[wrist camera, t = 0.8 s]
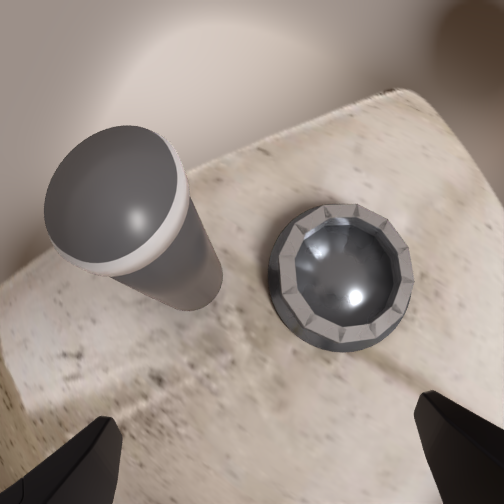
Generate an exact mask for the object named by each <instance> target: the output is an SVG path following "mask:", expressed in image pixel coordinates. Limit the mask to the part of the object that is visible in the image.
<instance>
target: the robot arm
mask: <svg viewBox="0 0 504 504" xmlns="http://www.w3.org/2000/svg"><path fill="white" fill-rule="evenodd" d="M414 419H415V422H416V425H417V429H418V432H419V436H420V439H421V443H422V447H423V450H424V454H425V457H426V459H427V462H428V465H429V467H430V470H431V472H432V475H433V477H434V480H435V482H436V485H437V488H438V490H439V493H440V496H441V498H442V501H443V504H504V430H503V429H501V428H500V427H498V426H496V425H494V424H492V423H491V422H489V421H487V420H485V419H484V418H482V417H480V416H478V415H476V414H475V413H473V412H471V411H469V410H468V409H466V408H464V407H462V406H461V405H459V404H457V403H455V402H454V401H452V400H450V399H448V398H447V397H445V396H443V395H441V394H440V393H438V392H436V391H434V390H430V391H427V392H423V393H422V394H421V395H420V397H419V399H418V402H417V405H416V408H415V410H414ZM121 448H122V434H121V432H120V430H119V428H118V426H117V424H116V422H115V421H114V419H113V418H112V417H107V416H99V417H97V418H96V419H95V420H94V421H92V422H91V423H90V424H89V425H88V426H86V427H85V428H84V429H83V430H81V431H80V432H79V433H78V434H76V435H75V436H74V437H73V438H72V439H70V440H69V441H68V442H67V443H65V444H64V445H63V446H62V447H60V448H59V449H58V450H57V451H55V452H54V453H53V454H52V455H50V456H49V457H48V458H46V459H45V460H44V461H43V462H41V463H40V464H39V465H38V466H36V467H35V468H34V469H32V470H31V471H30V472H29V473H27V474H26V475H25V476H24V477H23V478H21V479H19V480H18V481H17V482H15V483H14V484H13V485H11V486H10V487H9V488H7V489H6V490H4V491H3V492H1V493H0V504H112V503H113V499H114V494H115V490H116V485H117V480H118V473H119V464H120V456H121Z"/></svg>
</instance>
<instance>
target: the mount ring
mask: <svg viewBox="0 0 504 504" xmlns="http://www.w3.org/2000/svg"><path fill="white" fill-rule="evenodd" d="M268 284H269V291H270V295H271V298H272V302H273V304H274V306H275V309H276V311H277V313H278V314H279V316H280V318H281V319H282V321H283V322H284V323H285V324H286V326H287V327H288V328H289V329H290V330H291V331H292V332H293V333H294V334H295V335H296V336H298V337H299V338H300V339H302V340H303V341H305V342H307V343H309V344H310V345H312V346H315V347H317V348H320V349H323V350H327V351H332V352H354V351H358V350H363V349H365V348H368V347H371V346H373V345H375V344H377V343H378V342H380V341H381V340H383V339H384V338H386V337H387V336H388V335H389V334H390V333H391V332H392V331H393V330H394V329H395V328H396V327H397V325H398V324H399V323H400V321H401V319H402V318H403V316H404V314H405V312H406V310H407V307H408V305H409V301H410V297H411V291H412V288H413V285H414V276H413V270H412V264H411V258H410V253H409V247H408V246H407V244H406V243H405V242H404V240H403V239H402V238H401V236H400V235H399V234H398V232H397V231H396V230H395V228H394V227H393V226H392V224H391V223H390V222H389V220H388V219H386V218H384V217H382V216H380V215H378V214H376V213H374V212H372V211H370V210H368V209H366V208H364V207H362V206H360V205H358V204H329V205H323V206H319V207H315V208H313V209H310V210H308V211H306V212H304V213H302V214H300V215H299V216H298V217H296V218H295V219H293V220H292V221H291V222H290V223H289V224H288V225H287V226H286V227H285V229H284V230H283V231H282V232H281V234H280V235H279V237H278V239H277V240H276V242H275V245H274V247H273V250H272V253H271V256H270V260H269V268H268Z"/></svg>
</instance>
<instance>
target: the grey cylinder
mask: <svg viewBox="0 0 504 504" xmlns="http://www.w3.org/2000/svg"><path fill="white" fill-rule="evenodd" d="M44 218H45V224H46V228H47V231H48V235H49V237H50V240H51V242H52V244H53V246H54V248H55V249H56V250H57V252H58V253H59V254H60V255H61V256H62V257H63V258H64V259H65V260H67V261H68V262H70V263H72V264H73V265H75V266H77V267H79V268H81V269H83V270H85V271H87V272H90V273H92V274H95V275H100V276H109V277H111V278H113V279H115V280H117V281H119V282H121V283H123V284H125V285H127V286H129V287H131V288H133V289H135V290H137V291H139V292H141V293H143V294H145V295H147V296H149V297H151V298H154V299H156V300H158V301H160V302H162V303H164V304H166V305H169V306H171V307H173V308H175V309H178V310H182V311H194V310H198V309H200V308H203V307H205V306H206V305H208V304H209V303H210V302H211V301H212V300H213V299H214V298H215V297H216V296H217V294H218V292H219V290H220V288H221V285H222V279H223V272H222V267H221V264H220V261H219V259H218V257H217V255H216V253H215V250H214V248H213V246H212V244H211V242H210V240H209V237H208V235H207V233H206V231H205V229H204V226H203V224H202V222H201V220H200V218H199V215H198V213H197V211H196V209H195V206H194V204H193V202H192V200H191V197H190V189H189V182H188V178H187V175H186V172H185V170H184V167H183V165H182V162H181V160H180V158H179V155H178V153H177V151H176V150H175V148H174V147H173V146H172V144H171V143H170V142H169V141H168V140H167V139H165V138H164V137H163V136H161V135H159V134H158V133H155V132H153V131H150V130H148V129H145V128H142V127H138V126H117V127H112V128H109V129H105V130H103V131H100V132H98V133H96V134H94V135H92V136H90V137H88V138H87V139H85V140H84V141H82V142H81V143H80V144H78V145H77V146H76V147H75V148H74V149H73V150H72V151H71V152H70V153H69V154H68V155H67V156H66V157H65V158H64V159H63V161H62V162H61V163H60V165H59V167H58V168H57V170H56V171H55V173H54V175H53V177H52V179H51V181H50V184H49V186H48V189H47V193H46V198H45V204H44Z"/></svg>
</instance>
